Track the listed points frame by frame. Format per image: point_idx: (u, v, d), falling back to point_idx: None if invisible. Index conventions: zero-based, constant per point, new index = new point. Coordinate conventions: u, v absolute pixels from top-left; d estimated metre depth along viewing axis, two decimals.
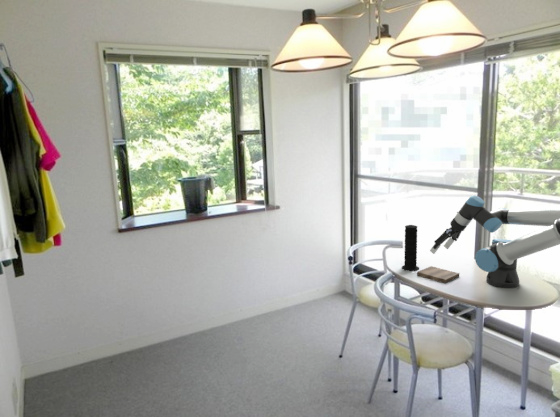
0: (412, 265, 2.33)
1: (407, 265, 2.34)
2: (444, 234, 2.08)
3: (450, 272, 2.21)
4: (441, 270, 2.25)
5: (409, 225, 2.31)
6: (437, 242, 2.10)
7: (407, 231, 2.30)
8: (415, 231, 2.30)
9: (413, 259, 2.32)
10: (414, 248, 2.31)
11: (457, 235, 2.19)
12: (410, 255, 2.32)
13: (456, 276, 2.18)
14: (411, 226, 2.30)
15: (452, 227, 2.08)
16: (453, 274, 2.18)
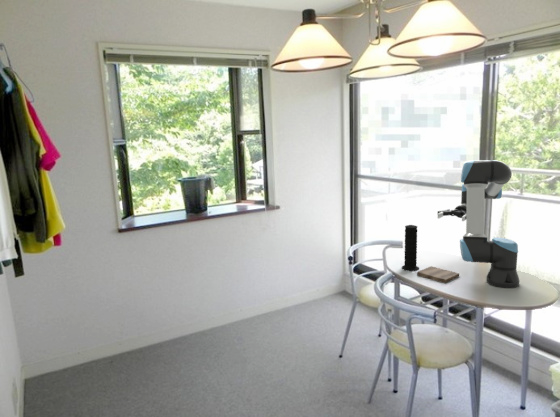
0: (412, 265, 2.33)
1: (407, 265, 2.34)
2: None
3: (450, 272, 2.21)
4: (441, 270, 2.25)
5: (409, 225, 2.31)
6: None
7: (407, 231, 2.30)
8: (415, 231, 2.30)
9: (413, 259, 2.32)
10: (414, 248, 2.31)
11: None
12: (410, 255, 2.32)
13: (456, 276, 2.18)
14: (411, 226, 2.30)
15: None
16: (453, 274, 2.18)
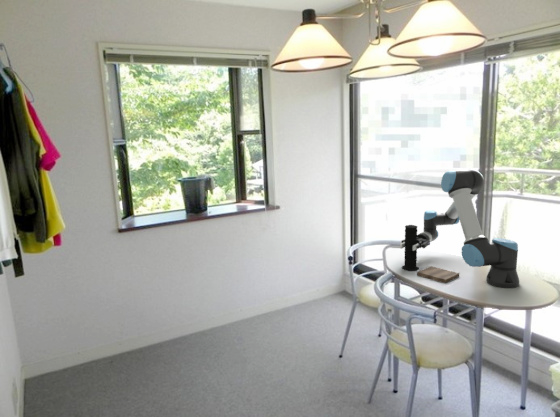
0: (412, 265, 2.33)
1: (407, 265, 2.34)
2: None
3: (450, 272, 2.21)
4: (441, 270, 2.25)
5: (409, 225, 2.31)
6: None
7: (407, 231, 2.30)
8: (415, 231, 2.30)
9: (413, 259, 2.32)
10: None
11: None
12: (410, 255, 2.32)
13: (456, 276, 2.18)
14: (411, 226, 2.30)
15: None
16: (453, 274, 2.18)
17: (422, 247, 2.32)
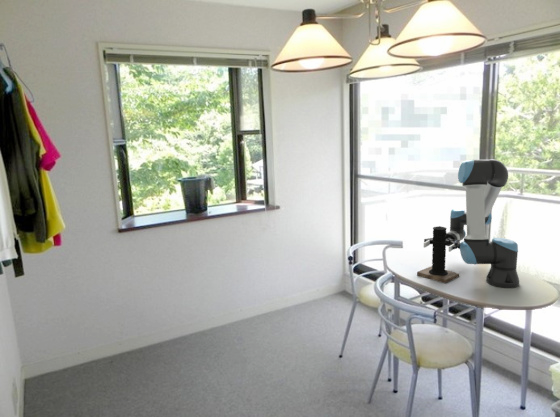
0: (441, 269, 2.18)
1: (435, 269, 2.19)
2: None
3: (450, 272, 2.21)
4: None
5: (438, 227, 2.16)
6: None
7: (436, 233, 2.16)
8: (444, 233, 2.15)
9: (442, 263, 2.17)
10: (443, 251, 2.16)
11: (457, 244, 2.18)
12: (439, 259, 2.17)
13: (456, 276, 2.18)
14: (440, 228, 2.15)
15: None
16: (453, 274, 2.18)
17: (458, 248, 2.16)
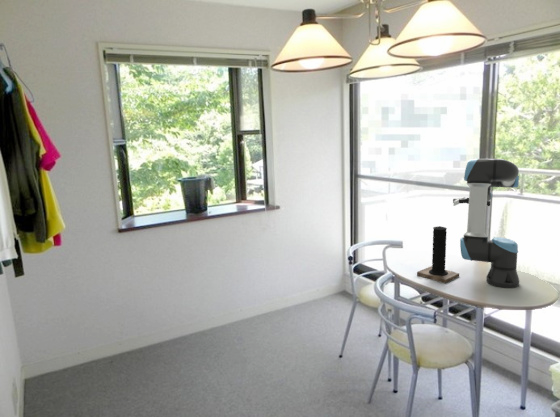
0: (441, 269, 2.18)
1: (435, 269, 2.19)
2: None
3: (450, 272, 2.21)
4: None
5: (438, 227, 2.16)
6: None
7: (436, 233, 2.16)
8: (444, 233, 2.15)
9: (442, 263, 2.17)
10: (443, 251, 2.16)
11: (486, 201, 2.27)
12: (439, 259, 2.17)
13: (456, 276, 2.18)
14: (440, 228, 2.15)
15: None
16: (453, 274, 2.18)
17: (488, 205, 2.24)
